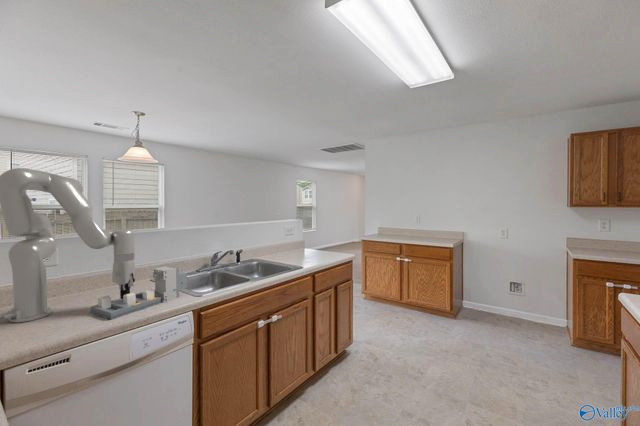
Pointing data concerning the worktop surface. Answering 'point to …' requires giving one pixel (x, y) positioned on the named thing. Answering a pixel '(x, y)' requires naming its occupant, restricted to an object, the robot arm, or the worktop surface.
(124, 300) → the tab
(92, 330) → the worktop surface
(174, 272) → the circuit breaker
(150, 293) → the tab
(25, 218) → the robot arm
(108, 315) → the switch bank
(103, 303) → the tab
